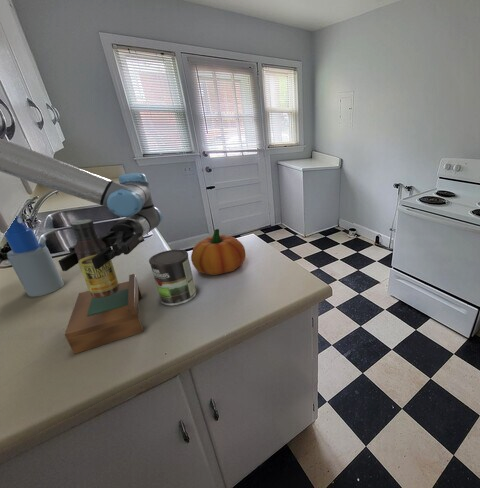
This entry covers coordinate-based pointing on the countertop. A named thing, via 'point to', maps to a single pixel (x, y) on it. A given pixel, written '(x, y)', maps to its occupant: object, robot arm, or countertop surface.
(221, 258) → the pumpkin
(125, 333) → the brown wooden box
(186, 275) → the large food can
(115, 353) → the countertop surface
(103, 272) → the sauce bottle
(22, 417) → the countertop surface
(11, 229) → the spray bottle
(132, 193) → the robot arm
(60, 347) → the countertop surface
